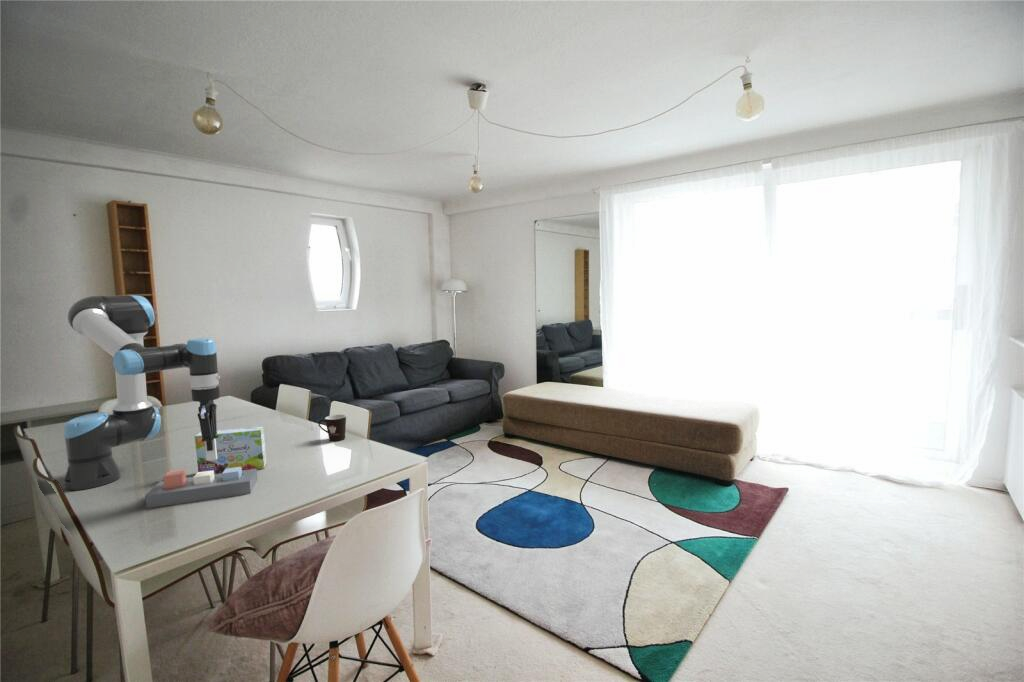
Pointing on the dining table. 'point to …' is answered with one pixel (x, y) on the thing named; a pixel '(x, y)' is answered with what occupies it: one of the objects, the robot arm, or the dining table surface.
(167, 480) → the brick key
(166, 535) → the dining table surface
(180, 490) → the console
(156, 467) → the dining table surface
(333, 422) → the coffee mug
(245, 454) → the snack box
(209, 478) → the ivory key
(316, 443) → the dining table surface
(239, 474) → the slate key
